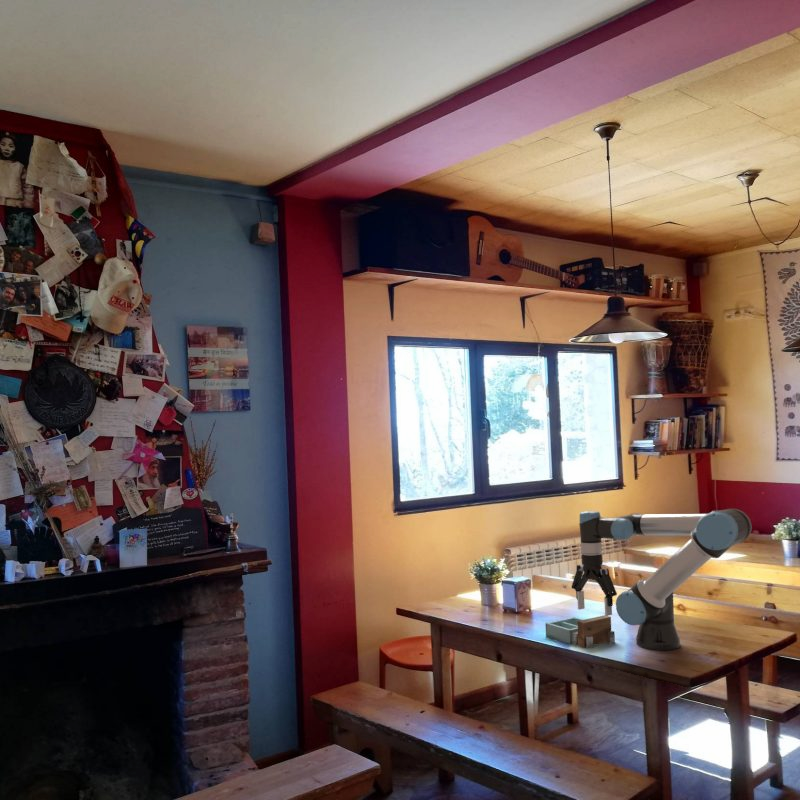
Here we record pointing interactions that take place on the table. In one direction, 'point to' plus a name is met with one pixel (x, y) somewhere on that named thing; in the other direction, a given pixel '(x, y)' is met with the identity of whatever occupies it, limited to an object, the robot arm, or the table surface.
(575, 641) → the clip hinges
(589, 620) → the door
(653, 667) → the table surface
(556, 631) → the box
